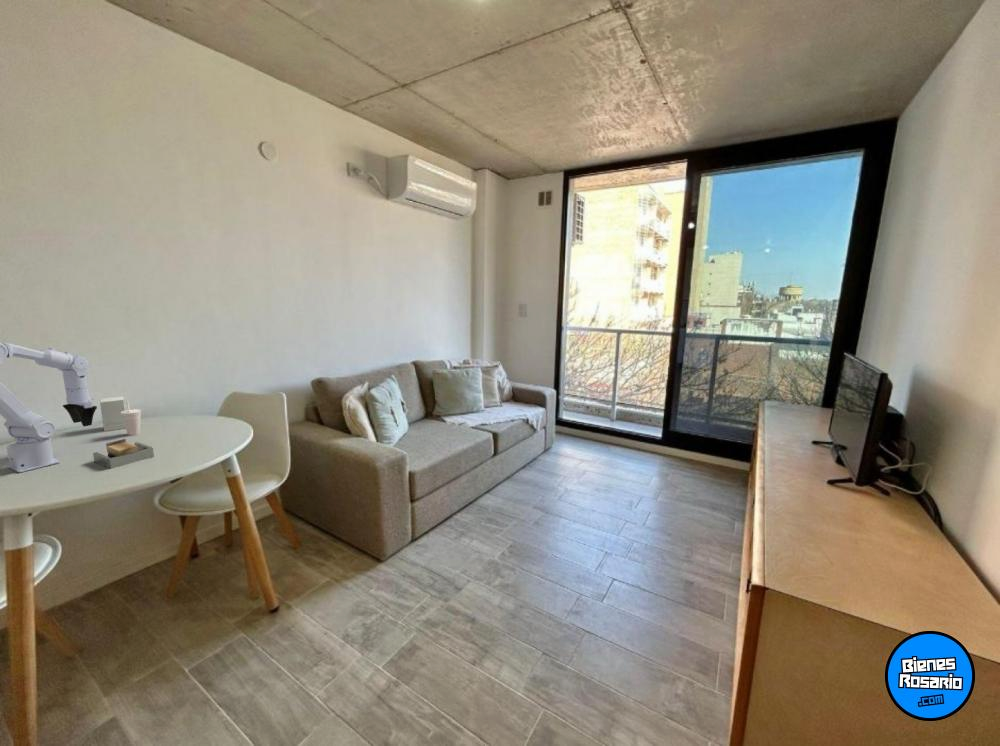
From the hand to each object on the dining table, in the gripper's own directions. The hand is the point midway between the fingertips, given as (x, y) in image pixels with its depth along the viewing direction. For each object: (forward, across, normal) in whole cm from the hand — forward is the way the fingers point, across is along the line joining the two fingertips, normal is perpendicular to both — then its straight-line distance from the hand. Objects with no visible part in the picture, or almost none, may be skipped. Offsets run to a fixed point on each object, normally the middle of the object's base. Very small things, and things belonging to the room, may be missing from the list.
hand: (82, 423), depth 149 cm
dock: (+9, -23, -2) cm, 25 cm away
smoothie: (+10, +4, -16) cm, 19 cm away
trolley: (+9, -22, -2) cm, 24 cm away
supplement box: (+10, +19, -16) cm, 27 cm away
